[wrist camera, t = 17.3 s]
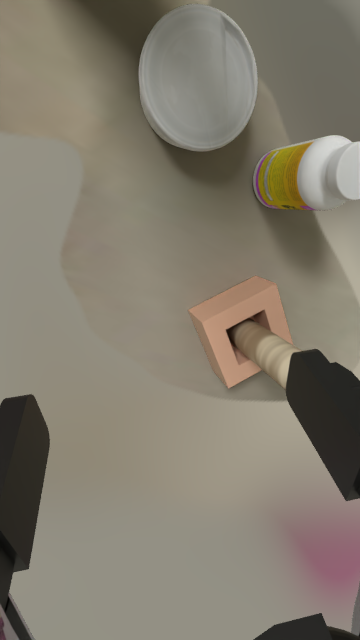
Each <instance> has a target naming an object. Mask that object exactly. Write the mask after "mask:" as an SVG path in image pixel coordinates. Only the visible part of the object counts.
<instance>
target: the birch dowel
mask: <svg viewBox="0 0 360 640" xmlns="http://www.w3.org/2000/svg"><path fill="white" fill-rule="evenodd" d="M226 333H227V335H228V338H229V341H230V343H232V344H233V345H234V346H235V347H236V348H237V349H239V350H240V351H241V352H242V353H243V354H244V355H246V356H247V357H248V358H249V359H250V360H251V361H253V362H254V363H255V364H256V365H257V366H258V367H260V368H261V369H262V370H263V371H264V372H265V373H267V374H268V375H269V376H270V377H271V378H272V379H274V380H275V381H276V382H277V383H278V384H279V385H281V386H282V387H283V388H284V389H285V390H286V382H287V376H288V370H289V364H290V358H291V355H292V353H294V352H300V351H302V350H300V349H298V348H297V347H295V346H294V345H292V344H290V343H289V342H287V341H286V340H284V339H282V338H281V337H279V336H278V335H276V334H275V333H273V332H271V331H270V330H268V329H267V328H265V327H263V326H262V325H260V324H259V323H257V322H255V321H254V320H252V319H251V318H247V319H245V320H243V321H241V322H239V323H237V324H236V325H234V326H232V327H230V328H228V329H226Z"/></svg>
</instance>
